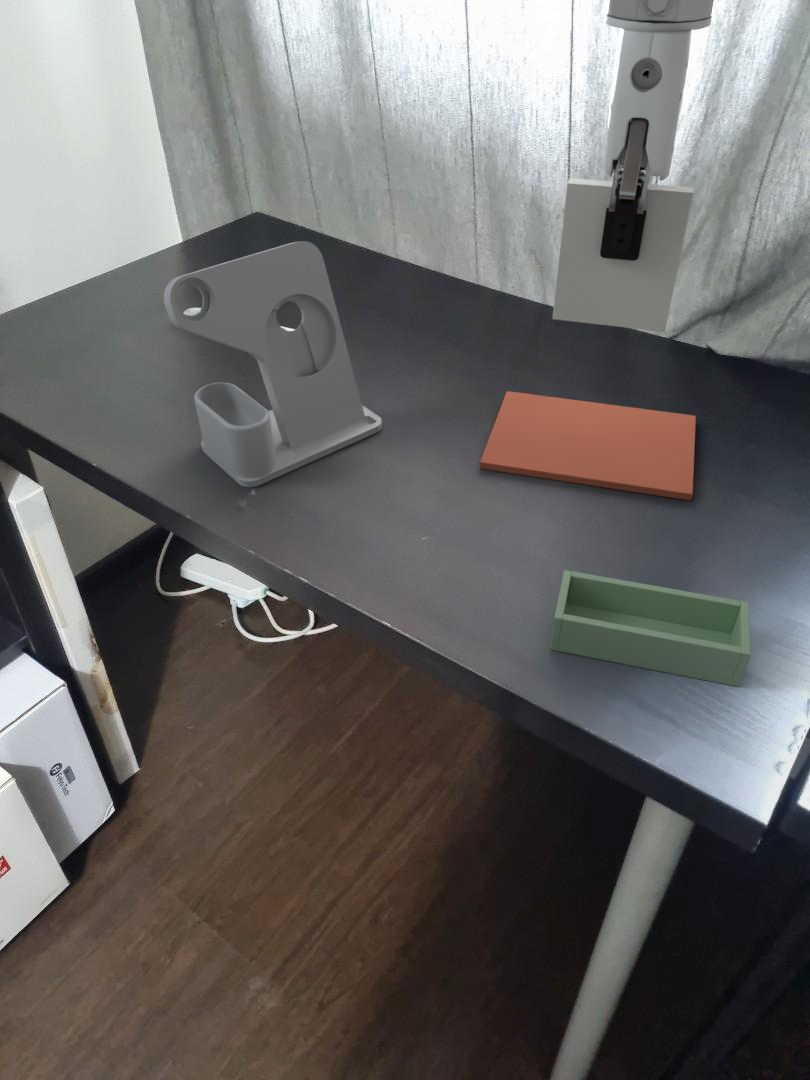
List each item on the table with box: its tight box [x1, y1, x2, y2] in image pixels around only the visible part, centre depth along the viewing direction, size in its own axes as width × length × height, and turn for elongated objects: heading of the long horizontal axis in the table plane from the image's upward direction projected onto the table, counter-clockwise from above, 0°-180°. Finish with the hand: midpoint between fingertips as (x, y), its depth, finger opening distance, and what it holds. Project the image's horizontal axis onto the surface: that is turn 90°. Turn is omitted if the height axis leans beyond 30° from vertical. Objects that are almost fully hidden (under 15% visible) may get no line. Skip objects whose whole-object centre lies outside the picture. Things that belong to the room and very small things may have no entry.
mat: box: [479, 391, 697, 502], centre depth 83 cm, size 20×14×1 cm
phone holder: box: [163, 240, 383, 488], centre depth 80 cm, size 17×10×18 cm, turn 129°
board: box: [551, 177, 695, 333], centre depth 71 cm, size 10×1×12 cm, turn 74°
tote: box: [549, 569, 752, 688], centre depth 62 cm, size 14×5×4 cm, turn 74°
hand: (620, 251), depth 71 cm, fingers closed on board, 1 cm apart
